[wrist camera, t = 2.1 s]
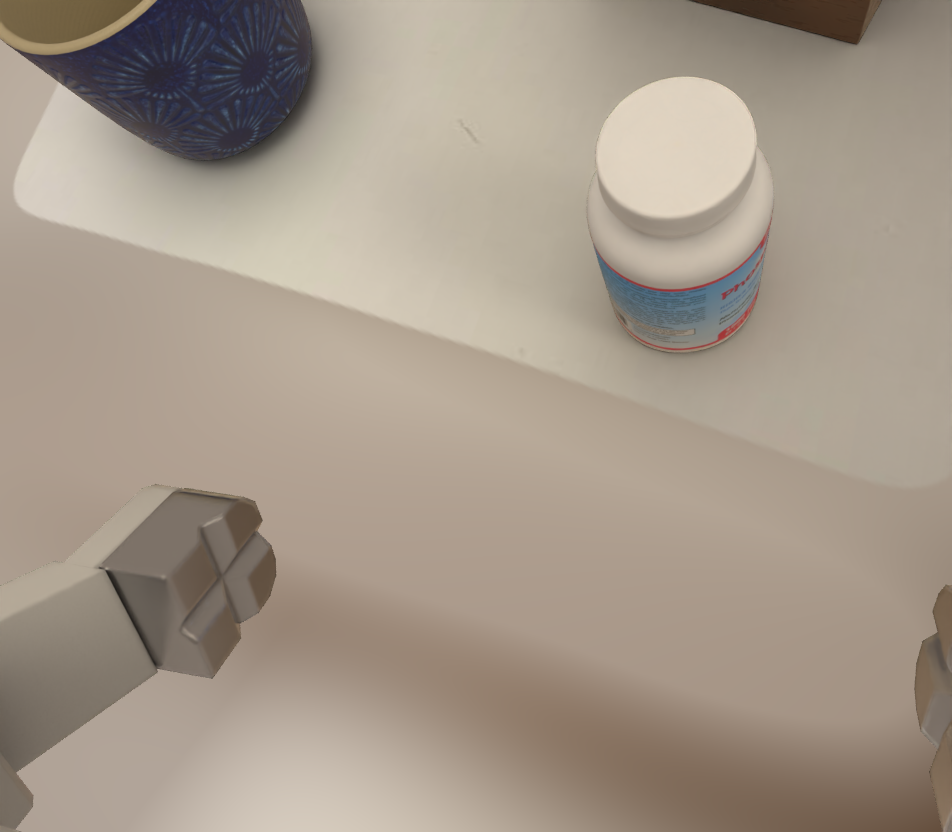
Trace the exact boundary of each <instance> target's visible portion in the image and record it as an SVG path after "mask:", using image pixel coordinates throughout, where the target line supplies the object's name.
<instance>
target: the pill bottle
mask: <svg viewBox="0 0 952 832" xmlns="http://www.w3.org/2000/svg"><path fill="white" fill-rule="evenodd" d="M595 162H596V171H595V173H594V175H593V178H592V181H591V184H590V187H589V191H588V197H587V220H588V226H589V231H590V235H591V238H592V241H593V245H594V248H595V251H596V255H597V258H598V261H599V265H600V268H601V271H602V274H603V277H604V281H605V284H606V287H607V290H608V294H609V297H610V300H611V303H612V306H613V309H614V312H615V314H616V316H617V318H618V320H619V321H620V323H621V325H622V326H623V327H624V329H625V330H626V331H627V332H628V333H629V334H630V335H631V336H632V337H633V338H635V339H636V340H637V341H639V342H640V343H642V344H644V345H646V346H648V347H650V348H653V349H656V350H660V351H665V352H693V351H699V350H703V349H707V348H710V347H712V346H715V345H717V344H719V343H721V342H723V341H725V340H726V339H728V338H729V337H730V336H732V335H733V334H734V333H735V332H736V331H737V330H738V329H739V328H740V327H741V326H742V325H743V324H744V323H745V321H746V320H747V318H748V317H749V315H750V313H751V311H752V309H753V307H754V305H755V302H756V298H757V294H758V290H759V284H760V279H761V272H762V268H763V262H764V257H765V251H766V246H767V241H768V236H769V229H770V224H771V219H772V213H773V204H774V185H773V178H772V174H771V170H770V167H769V165H768V162H767V160H766V158H765V156H764V155H763V153H762V151H761V150H760V148H759V147H758V146H757V135H756V128H755V124H754V121H753V118H752V115H751V113H750V111H749V110H748V108H747V106H746V105H745V103H744V102H743V101H742V100H741V99H740V98H739V97H738V96H737V95H736V94H735V93H734V92H733V91H731V90H730V89H728V88H727V87H725V86H723V85H722V84H719V83H717V82H714V81H711V80H708V79H703V78H698V77H688V76H683V77H672V78H666V79H662V80H658V81H655V82H653V83H650V84H647V85H645V86H643V87H641V88H640V89H638V90H636V91H634V92H633V93H631V94H630V95H628V96H627V97H626V98H624V99H623V100H622V101H621V102H620V103H619V104H618V105H617V106H616V107H615V108H614V110H613V111H612V112H611V113H610V115H609V116H608V117H607V119H606V121H605V123H604V124H603V126H602V129H601V131H600V134H599V137H598V140H597V144H596V152H595Z"/></svg>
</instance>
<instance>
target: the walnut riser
mask: <svg viewBox="0 0 952 832" xmlns="http://www.w3.org/2000/svg"><path fill="white" fill-rule="evenodd" d="M692 1H696V2H700V3H703V4H707V5H711V6H715V7H719V8H722V9H726V10H730V11H734V12H737V13H741V14H745V15H749V16H753V17H756V18H760V19H764V20H768V21H771V22H775V23H779V24H783V25H787V26H790V27H794V28H798V29H802V30H805V31H809V32H813V33H817V34H821V35H824V36H828V37H832V38H836V39H839V40H843V41H847V42H851V43H855V44H857V43H858V42H859V41H860V39H861V37H862V36H863V34H864V32H865V30H866V28H867V27H868V25H869V23H870V21H871V19H872V17H873V16H874V14H875V12H876V10H877V8H878V7H879V5H880V3H881V1H882V0H692Z"/></svg>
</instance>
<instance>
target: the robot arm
mask: <svg viewBox="0 0 952 832" xmlns="http://www.w3.org/2000/svg"><path fill="white" fill-rule="evenodd" d="M261 523H262V518H261V515H260V513H259V510H258V508H257V505H256V503H255V501H253V500H250V499H248V498H245V497H241V496H234V495H227V494H221V493H215V492H207V491H202V490H195V489H189V488H184V489H183V488H176V487H171V486H164V485H157V484H155V485H151V486H148V487H145V488H142V489H141V490H140V491H139V492H138V493H137V494H136V495H135V496H134V497H133V498H132V499H131V500H130V501H128V502H127V503H126V504H125V505H124V506H123V507H122V508H121V509H120V510H119V511H118V512H117V513H116V514H115V515H114V516H113V517H111V519H109V520H108V521H107V522H106V523H105V524H104V525H103V526H102V527H101V528H100V529H99V530H98V531H97V532H95V534H93V535H92V536H91V537H90V538H89V539H88V540H87V541H86V542H85V543H84V544H83V545H82V546H81V547H80V548H79V549H78V550H76V551H75V552H74V553H73V554H72V555H71V556H70V557H69V558H68V559H67V560H66V561H65V562H56V561H54V562H52V563H49V564H47V565H45V566H43V567H40V568H38V569H36V570H34V571H31V572H29V573H27V574H25V575H23V576H20V577H19V578H16V579H14V580H12V581H9V582H7V583H5V584H3V585H0V832H20V831H17V830H15V829H16V828H17V826H18V825H19V824H20V823H21V821H22V820H23V819H24V817H25V816H26V815H27V813H28V812H29V811H30V810H31V808H32V807H33V795H32V793H31V792H30V791H29V789H28V788H27V787H26V785H25V784H24V783H23V781H22V780H21V779H20V778H19V776H18V775H17V774H16V772H17V771H19V770H20V769H22V768H23V767H25V766H26V765H27V764H29V763H30V762H32V761H33V760H35V759H36V758H37V757H39V756H40V755H42V754H43V753H44V752H46V751H47V750H49V749H50V748H51V747H53V746H54V745H56V744H57V743H58V742H60V741H61V740H63V739H64V738H66V737H67V736H68V735H70V734H71V733H73V732H74V731H75V730H77V729H78V728H80V727H81V726H83V725H84V724H85V723H87V722H88V721H90V720H91V719H92V718H94V717H95V716H97V715H98V714H99V713H101V712H102V711H104V710H105V709H106V708H108V707H109V706H111V705H112V704H114V703H115V702H116V701H118V700H119V699H121V698H122V697H123V696H125V695H126V694H128V693H129V692H131V691H132V690H133V689H135V688H136V687H138V686H139V685H141V684H142V683H143V682H145V681H146V680H148V679H149V678H150V677H152V676H153V675H155V674H156V673H157V672H158V671H157V669H162V670H167V671H173V672H178V673H184V674H189V675H195V676H200V677H206V678H211V679H212V678H213V677H214V676H215V674H216V673H217V672H218V670H219V669H220V667H221V666H222V665H223V663H224V662H225V660H226V659H227V657H228V656H229V655H230V653H231V652H232V650H233V649H234V647H235V646H236V644H237V643H238V642H239V640H240V639H241V632H240V623H241V622H244V621H245V620H247V619H249V618H251V617H252V616H254V615H256V614H257V613H259V612H260V610H261V609H262V607H263V606H264V604H265V603H266V601H267V600H268V598H269V597H270V594H271V591H272V587H273V584H274V580H275V577H276V559H275V556H274V554H273V553H274V552H273V550H272V546H271V545H270V544H269V543H268V542H267V541H266V540H265V539H264V538H263V537H262V536H261V535H260V534H259V533H258V532H257V530H258V529H259V527H260V525H261ZM933 615H934V619H935V623H936V626H937V631H938V632H937V633H936V634H934V635H932V636H930V637H929V638H927V639H925V640H923V642H922V646H921V649H920V652H919V656H918V660H917V663H916V677H915V699H916V710H917V715H918V720H919V725H920V730H921V732H922V733H923V734H924V735H925V737H927V739H928V740H929V741H930V742H931V743H932V744H933V745H934V746H935V747H936V748H937V749H938V750H937V753H936V755H935V758H934V761H933V764H932V766H931V769H930V771H929V773H930V777H931V782H932V786H933V791H934V795H935V800H936V805H937V809H938V813H939V818H940V823H941V827H942V832H952V585H945V587H944V588H943V589H942V590H941V591H940V593H939V594H938V597H937V600H936V603H935V606H934V609H933Z"/></svg>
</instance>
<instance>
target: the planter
mask: <svg viewBox="0 0 952 832" xmlns="http://www.w3.org/2000/svg"><path fill="white" fill-rule="evenodd" d="M0 39H1V40H2V41H4V42H5V43H6V44H7V45H9V46H10V47H12V48H13V49H14V50H16V51H17V52H19V53H20V54H21V55H23V56H24V57H25V58H27V59H28V60H29V61H31V62H32V63H34V64H35V65H36V66H38V67H39V68H40V69H42V70H43V71H44V72H46V73H47V74H49V75H50V76H51V77H53V78H54V79H55V80H57V81H58V82H59V83H61V84H62V85H64V86H65V87H66V88H68V89H69V90H71V91H72V92H73V93H75V94H76V95H77V96H79V97H80V98H82V99H83V100H84V101H86V102H87V103H88V104H90V105H91V106H93V107H94V108H95V109H97V110H98V111H100V112H101V113H102V114H104V115H105V116H107V117H108V118H110V119H111V120H113V121H114V122H116V123H117V124H119V125H120V126H122V127H123V128H124V129H126V130H128V131H129V132H131V133H132V134H134V135H136V136H137V137H139V138H141V139H143V140H144V141H146V142H148V143H149V144H151V145H153V146H155V147H156V148H159V149H161V150H163V151H165V152H168V153H170V154H173V155H176V156H179V157H183V158H188V159H194V160H213V159H220V158H225V157H229V156H232V155H236V154H238V153H240V152H243V151H245V150H247V149H249V148H251V147H253V146H254V145H256V144H257V143H259V142H260V141H262V140H263V139H265V138H266V137H267V136H268V135H270V134H271V133H272V132H273V131H274V130H275V129H276V128H277V127H278V126H279V125H280V124H281V123H282V122H283V121H284V120H285V118H286V117H287V116H288V114H289V113H290V112H291V110H292V109H293V107H294V106H295V104H296V103H297V101H298V99H299V97H300V95H301V93H302V91H303V89H304V86H305V83H306V80H307V77H308V73H309V69H310V63H311V56H312V42H311V33H310V27H309V23H308V19H307V16H306V13H305V10H304V7H303V5H302V2H301V0H0Z"/></svg>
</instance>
